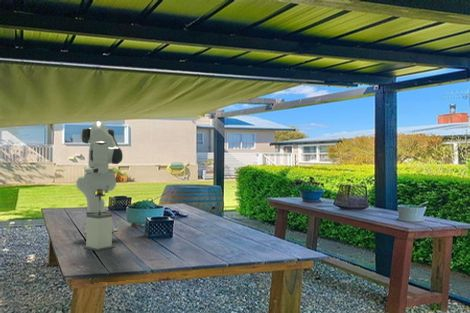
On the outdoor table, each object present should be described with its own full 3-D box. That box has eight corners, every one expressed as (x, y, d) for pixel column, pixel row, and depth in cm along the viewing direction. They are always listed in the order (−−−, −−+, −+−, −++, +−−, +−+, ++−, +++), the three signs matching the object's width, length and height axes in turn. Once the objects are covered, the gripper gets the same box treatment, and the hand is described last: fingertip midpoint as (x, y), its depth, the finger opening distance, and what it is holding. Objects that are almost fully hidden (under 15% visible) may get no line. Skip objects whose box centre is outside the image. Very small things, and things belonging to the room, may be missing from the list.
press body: (100, 244, 260) (101, 212, 259) (114, 247, 253) (114, 214, 253) (83, 248, 250) (84, 214, 249) (97, 251, 243) (98, 216, 243)
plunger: (100, 220, 256) (100, 188, 256) (108, 221, 252) (108, 189, 252) (90, 221, 250) (91, 189, 250) (98, 223, 246) (99, 189, 246)
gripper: (110, 168, 261) (110, 191, 261) (82, 169, 244) (81, 194, 244) (118, 169, 258) (117, 192, 258) (89, 170, 241) (89, 195, 241)
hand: (100, 193), depth 251 cm, fingers open, 8 cm apart
